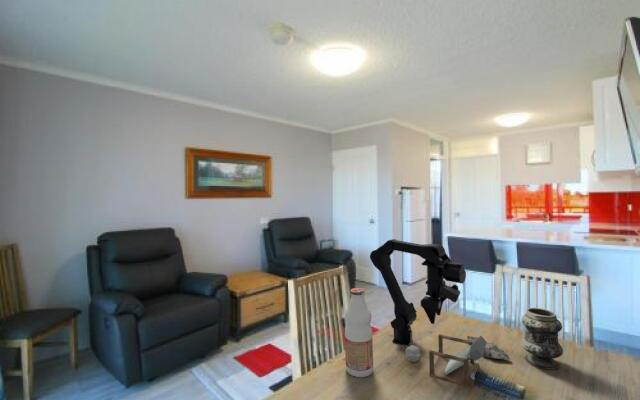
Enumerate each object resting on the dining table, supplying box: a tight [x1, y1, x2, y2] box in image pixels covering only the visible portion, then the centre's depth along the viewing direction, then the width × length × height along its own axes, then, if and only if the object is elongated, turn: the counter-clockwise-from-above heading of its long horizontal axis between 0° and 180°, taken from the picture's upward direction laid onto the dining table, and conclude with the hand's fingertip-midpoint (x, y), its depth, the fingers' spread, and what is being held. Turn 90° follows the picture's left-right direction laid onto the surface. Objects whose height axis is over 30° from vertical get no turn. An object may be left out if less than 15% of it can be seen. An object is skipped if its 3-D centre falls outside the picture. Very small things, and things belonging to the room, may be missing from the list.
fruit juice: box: [344, 287, 374, 378], centre depth 108 cm, size 9×9×28 cm
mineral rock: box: [466, 335, 510, 361], centre depth 117 cm, size 15×8×4 cm, turn 15°
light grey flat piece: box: [444, 335, 487, 375], centre depth 105 cm, size 14×11×2 cm
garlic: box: [405, 344, 421, 363], centre depth 113 cm, size 6×5×5 cm
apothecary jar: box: [520, 307, 564, 371], centre depth 110 cm, size 12×12×18 cm
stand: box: [428, 333, 480, 389], centre depth 106 cm, size 13×15×8 cm
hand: (435, 319), depth 117 cm, fingers open, 9 cm apart
